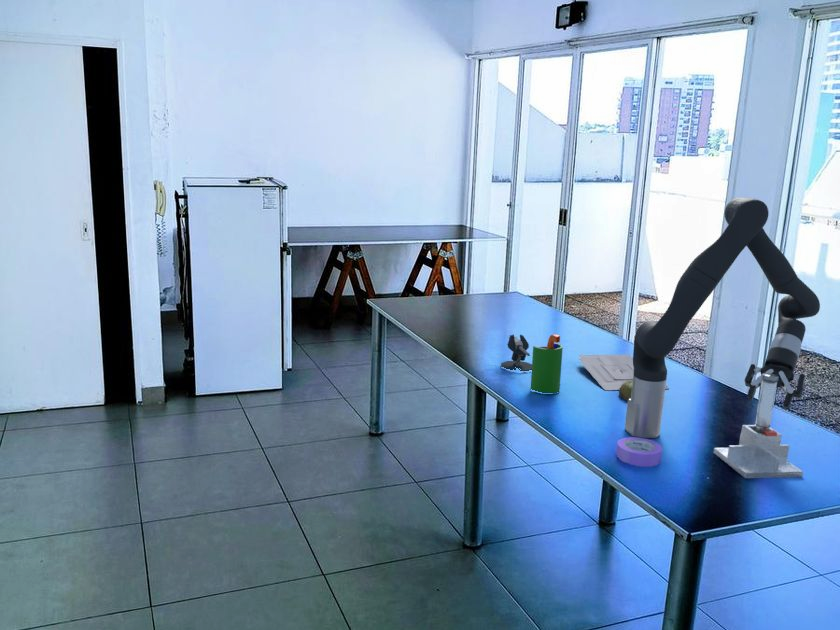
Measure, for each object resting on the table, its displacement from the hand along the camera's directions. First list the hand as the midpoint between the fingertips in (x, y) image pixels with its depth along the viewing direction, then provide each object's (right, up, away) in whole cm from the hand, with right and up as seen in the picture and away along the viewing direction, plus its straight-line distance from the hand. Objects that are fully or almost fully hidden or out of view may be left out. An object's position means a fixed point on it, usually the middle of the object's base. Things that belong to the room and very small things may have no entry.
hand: (767, 403), depth 202 cm
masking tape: (-33, -15, +4) cm, 37 cm away
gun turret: (-56, +3, +76) cm, 94 cm away
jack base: (-2, -17, +2) cm, 17 cm away
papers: (-20, +1, +74) cm, 76 cm away
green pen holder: (-50, -2, +55) cm, 75 cm away
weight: (-19, -4, +52) cm, 55 cm away
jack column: (-2, -15, +2) cm, 15 cm away
